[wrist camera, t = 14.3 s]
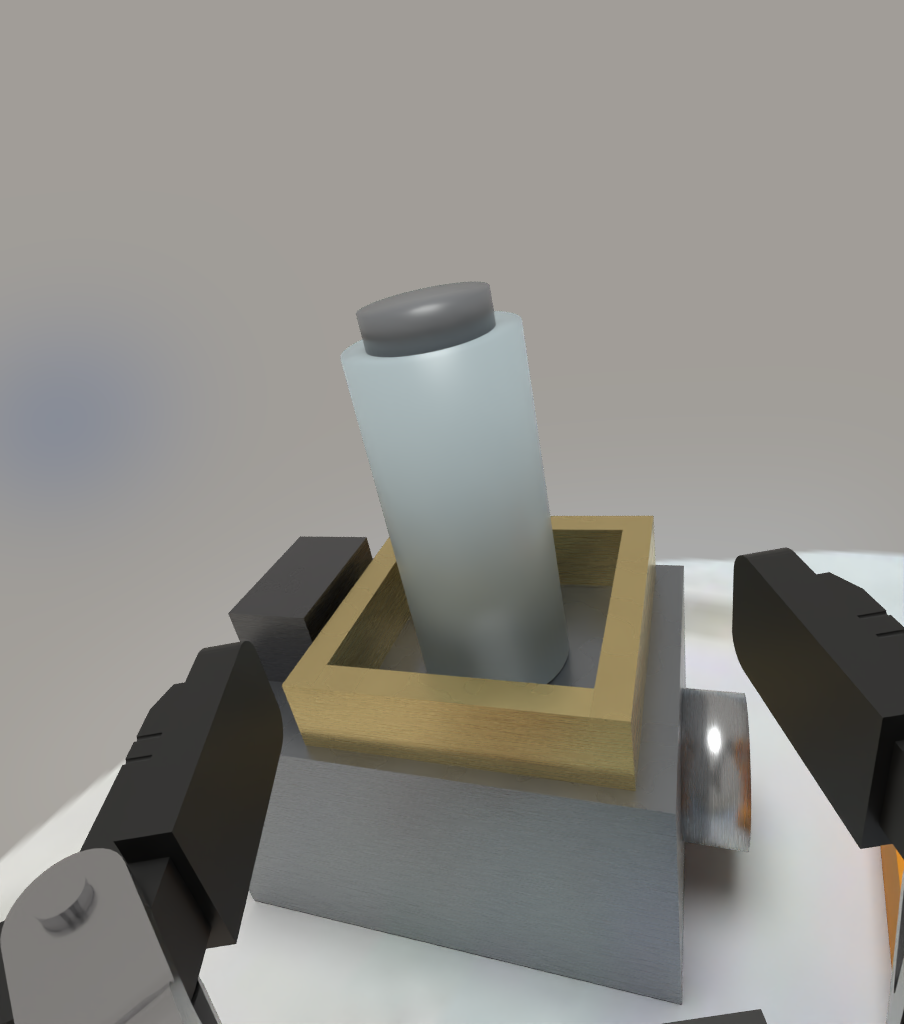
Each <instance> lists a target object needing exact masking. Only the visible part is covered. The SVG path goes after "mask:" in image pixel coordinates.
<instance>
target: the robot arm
mask: <svg viewBox="0 0 904 1024" xmlns="http://www.w3.org/2000/svg"><path fill="white" fill-rule="evenodd" d="M732 635H733V642H734V647H735V651H736V654H737V657H738V660H739V662H740V664H741V666H742V668H743V670H744V672H745V673H746V675H747V676H748V678H749V679H750V681H751V683H752V684H753V686H754V687H755V689H756V690H757V692H758V693H759V695H760V696H761V698H762V699H763V701H764V702H765V704H766V705H767V707H768V709H769V710H770V712H771V713H772V715H773V716H774V718H775V719H776V721H777V722H778V724H779V725H780V727H781V728H782V730H783V731H784V733H785V734H786V736H787V738H788V739H789V741H790V742H791V744H792V745H793V747H794V748H795V750H796V751H797V753H798V754H799V756H800V757H801V759H802V760H803V762H804V764H805V765H806V767H807V768H808V770H809V771H810V773H811V774H812V776H813V777H814V779H815V780H816V782H817V783H818V785H819V786H820V788H821V790H822V791H823V793H824V794H825V796H826V797H827V799H828V800H829V802H830V803H831V805H832V806H833V808H834V809H835V811H836V812H837V814H838V816H839V817H840V819H841V820H842V822H843V823H844V825H845V826H846V828H847V829H848V831H849V832H850V834H851V835H852V837H853V838H854V840H855V842H856V843H857V845H858V846H859V848H860V849H863V848H869V847H876V846H882V845H888V844H893V845H894V847H895V848H896V850H897V851H898V852H899V854H900V855H901V857H902V858H903V859H904V627H903V626H902V625H901V624H900V623H899V622H898V621H897V620H896V619H895V618H894V617H892V616H891V615H887V613H886V610H885V609H884V608H883V607H882V606H881V605H880V604H879V603H878V602H876V601H875V600H874V599H873V598H872V597H871V596H870V595H869V594H868V593H867V592H866V591H865V590H864V589H862V588H860V587H858V586H856V585H854V584H852V583H850V582H848V581H846V580H844V579H842V578H840V577H838V576H836V575H834V574H832V573H830V572H828V573H822V574H817V575H816V574H815V573H814V572H813V571H812V570H811V569H810V568H809V567H808V566H807V565H806V564H805V563H804V562H803V561H802V560H801V559H800V558H799V557H798V556H797V555H796V553H795V552H793V551H792V550H791V549H789V548H780V549H775V550H769V551H763V552H758V553H752V554H747V555H740V556H738V557H737V558H736V560H735V564H734V580H733V620H732ZM282 744H283V722H282V716H281V712H280V708H279V705H278V703H277V700H276V698H275V696H274V693H273V691H272V688H271V686H270V683H269V681H268V678H267V676H266V673H265V671H264V668H263V666H262V663H261V661H260V658H259V656H258V653H257V651H256V649H255V647H254V645H253V644H252V643H251V642H250V641H242V642H237V643H231V644H225V645H219V646H214V647H208V648H204V649H202V650H201V651H200V652H199V653H198V655H197V657H196V659H195V662H194V664H193V666H192V668H191V671H190V673H189V675H188V677H187V679H186V682H185V683H179V684H174V685H173V686H172V687H171V688H170V689H169V690H168V691H167V692H166V693H165V694H164V695H163V696H162V697H161V698H160V700H159V701H158V702H157V703H156V704H155V705H154V706H153V707H152V708H151V709H150V711H149V713H148V715H147V717H146V719H145V721H144V723H143V725H142V727H141V729H140V731H139V733H138V735H137V742H134V743H133V745H132V747H131V749H130V751H129V753H128V755H127V757H126V765H122V767H121V769H120V771H119V773H118V775H117V777H116V779H115V781H114V783H113V785H112V787H111V789H110V791H109V793H108V795H107V798H106V800H105V802H104V804H103V806H102V808H101V810H100V812H99V814H98V816H97V818H96V820H95V822H94V824H93V826H92V828H91V830H90V832H89V834H88V836H87V838H86V840H85V842H84V844H83V846H82V848H81V850H80V852H78V853H75V854H73V855H71V856H69V857H67V858H64V859H63V860H61V861H59V862H58V863H56V864H54V865H53V866H51V867H50V868H49V869H47V870H46V871H44V872H43V873H42V874H41V875H40V876H39V877H37V878H36V879H35V880H34V881H33V882H32V883H31V884H30V885H29V886H28V887H27V888H26V889H25V890H24V892H23V893H22V894H21V895H20V896H19V898H18V899H17V900H16V902H15V903H14V905H13V906H12V908H11V910H10V911H9V913H8V915H7V917H6V919H5V921H3V922H1V923H0V1024H222V1023H221V1021H220V1019H219V1016H218V1014H217V1012H216V1010H215V1008H214V1006H213V1003H212V1001H211V999H210V997H209V995H208V992H207V990H206V988H205V986H204V984H203V982H202V981H201V979H200V977H199V973H200V969H201V965H202V961H203V958H204V954H205V950H206V949H207V948H213V947H219V946H226V945H232V944H236V942H237V938H238V934H239V930H240V925H241V921H242V917H243V912H244V908H245V904H246V899H247V895H248V891H249V887H250V882H251V878H252V874H253V869H254V865H255V861H256V857H257V852H258V848H259V844H260V839H261V835H262V831H263V827H264V822H265V818H266V814H267V809H268V805H269V801H270V797H271V792H272V788H273V784H274V779H275V775H276V771H277V767H278V762H279V758H280V754H281V749H282ZM664 1024H767V1023H766V1020H765V1018H764V1015H763V1013H762V1011H761V1009H758V1010H752V1011H745V1012H738V1013H731V1014H725V1015H718V1016H711V1017H704V1018H698V1019H691V1020H684V1021H677V1022H671V1023H664ZM886 1024H904V871H903V875H902V884H901V893H900V902H899V912H898V921H897V930H896V940H895V949H894V958H893V968H892V977H891V986H890V996H889V1005H888V1012H887V1020H886Z"/></svg>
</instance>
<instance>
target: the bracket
mask: <svg viewBox="0 0 904 1024" xmlns="http://www.w3.org/2000/svg"><path fill="white" fill-rule="evenodd" d="M880 847H881V858H882V868H883V879H884V890H885V900H886V911H887V922H888V933H889V943H890V954H891V965H892V968H893V958H894V949H895V940H896V930H897V921H898V912H899V902H900V893H901V884H902V875H903V871H904V859H903V858H902V857H901V855H900V854H899V852H898V851H897V850H896V848H895V847H894V845H893V844H888V845H882V846H880Z"/></svg>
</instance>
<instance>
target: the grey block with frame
mask: <svg viewBox="0 0 904 1024" xmlns="http://www.w3.org/2000/svg"><path fill="white" fill-rule="evenodd" d="M550 517H551V524H552V531H553V538H554V545H555V552H556V558H557V565H558V572H559V579H560V586H561V593H562V600H563V607H564V614H565V621H566V627H567V634H568V641H569V652H568V657H567V660H566V662H565V664H564V666H563V668H562V669H561V670H560V672H559V673H558V674H557V675H556V676H555V677H554V678H553V679H552V680H551V681H550V682H549V683H548V684H537V683H526V682H515V681H503V680H492V679H481V678H470V677H459V676H447V675H436V674H428V673H427V670H426V667H425V663H424V660H423V656H422V652H421V649H420V645H419V641H418V638H417V634H416V631H415V627H414V623H413V620H412V616H411V612H410V609H409V605H408V602H407V598H406V594H405V591H404V587H403V584H402V580H401V576H400V573H399V569H398V565H397V562H396V558H395V555H394V551H393V547H392V544H391V540H390V537H389V538H388V540H387V541H386V542H385V544H384V545H383V546H382V548H381V549H380V551H379V552H378V553H377V555H376V556H375V558H374V559H373V558H372V556H371V552H370V548H369V545H368V541H367V538H366V537H299V538H298V540H297V541H296V542H295V543H294V544H293V545H292V546H291V547H290V548H289V549H288V550H287V551H286V552H285V553H284V555H283V556H282V557H281V558H280V559H279V560H278V561H277V562H276V563H275V564H274V565H273V566H272V567H271V568H270V569H269V571H268V572H267V573H266V574H265V575H264V576H263V577H262V578H261V579H260V580H259V581H258V582H257V583H256V584H255V585H254V587H253V588H252V589H251V590H250V591H249V592H248V593H247V594H246V595H245V596H244V597H243V598H242V599H241V600H240V601H239V603H238V604H237V605H236V606H235V607H234V608H233V609H232V610H231V611H230V612H229V616H230V618H231V621H232V623H233V626H234V628H235V630H236V633H237V635H238V638H239V640H240V642H242V641H250V642H251V643H252V644H253V645H254V647H255V649H256V651H257V653H258V656H259V658H260V661H261V663H262V666H263V668H264V671H265V673H266V676H267V678H268V681H269V683H270V686H271V688H272V691H273V693H274V696H275V698H276V700H277V703H278V705H279V708H280V712H281V716H282V722H283V744H282V749H281V754H280V758H279V762H278V767H277V771H276V775H275V779H274V784H273V788H272V792H271V797H270V801H269V805H268V809H267V814H266V818H265V822H264V827H263V831H262V835H261V839H260V844H259V848H258V852H257V857H256V861H255V865H254V869H253V874H252V878H251V882H250V887H249V891H250V893H251V895H252V897H253V899H254V900H256V901H260V902H264V903H268V904H272V905H276V906H280V907H284V908H288V909H293V910H297V911H301V912H305V913H309V914H313V915H317V916H321V917H325V918H329V919H334V920H338V921H342V922H346V923H350V924H354V925H358V926H362V927H366V928H370V929H374V930H379V931H383V932H387V933H391V934H395V935H399V936H403V937H407V938H411V939H415V940H420V941H424V942H428V943H432V944H436V945H440V946H444V947H448V948H452V949H456V950H461V951H465V952H469V953H473V954H477V955H481V956H485V957H489V958H493V959H497V960H502V961H506V962H510V963H514V964H518V965H522V966H526V967H530V968H534V969H538V970H543V971H547V972H551V973H555V974H559V975H563V976H567V977H571V978H575V979H579V980H584V981H588V982H592V983H596V984H600V985H604V986H608V987H612V988H616V989H620V990H624V991H629V992H633V993H637V994H641V995H645V996H649V997H653V998H657V999H661V1000H665V1001H670V1002H674V1003H678V1004H682V955H683V900H684V846H685V842H689V843H695V844H701V845H707V846H713V847H719V848H726V849H732V850H738V851H744V852H749V847H750V833H751V770H750V743H749V725H748V712H747V703H746V697H745V694H744V693H736V692H724V691H713V690H701V689H689V688H686V674H685V616H684V566H672V565H655V544H654V520H653V519H654V518H653V516H550Z"/></svg>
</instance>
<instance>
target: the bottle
mask: <svg viewBox="0 0 904 1024" xmlns="http://www.w3.org/2000/svg"><path fill="white" fill-rule="evenodd" d="M356 316H357V320H358V324H359V328H360V331H361V335H362V339H363V340H360V341H359V342H357V343H355V344H353V345H352V346H350V347H349V348H347V349H346V350H344V352H343V353H342V354H341V357H340V359H341V363H342V366H343V370H344V373H345V377H346V381H347V384H348V388H349V392H350V395H351V399H352V402H353V406H354V410H355V413H356V417H357V421H358V424H359V428H360V431H361V435H362V439H363V442H364V446H365V450H366V453H367V457H368V460H369V464H370V468H371V471H372V475H373V478H374V482H375V486H376V489H377V493H378V497H379V500H380V504H381V507H382V511H383V515H384V518H385V522H386V525H387V529H388V533H389V536H390V540H391V544H392V547H393V551H394V555H395V558H396V562H397V565H398V569H399V573H400V576H401V580H402V584H403V587H404V591H405V594H406V598H407V602H408V605H409V609H410V612H411V616H412V620H413V623H414V627H415V631H416V634H417V638H418V641H419V645H420V649H421V652H422V656H423V660H424V663H425V667H426V670H427V673H428V674H436V675H447V676H459V677H470V678H481V679H492V680H503V681H515V682H526V683H537V684H548V683H549V682H550V681H551V680H552V679H553V678H554V677H555V676H556V675H557V674H558V673H559V672H560V670H561V669H562V668H563V666H564V664H565V662H566V660H567V657H568V652H569V641H568V634H567V627H566V621H565V614H564V607H563V600H562V593H561V586H560V579H559V572H558V565H557V558H556V552H555V545H554V538H553V531H552V524H551V517H550V511H549V504H548V497H547V489H546V483H545V476H544V469H543V462H542V456H541V448H540V442H539V435H538V428H537V420H536V414H535V407H534V400H533V393H532V386H531V379H530V373H529V365H528V359H527V351H526V345H525V338H524V331H523V324H522V319H521V317H520V316H519V315H517V314H514V313H510V312H503V311H494V309H493V303H492V297H491V291H490V285H489V284H488V283H485V282H461V283H452V284H445V285H439V286H433V287H428V288H423V289H418V290H414V291H410V292H406V293H402V294H399V295H395V296H392V297H388V298H385V299H382V300H379V301H376V302H374V303H371V304H369V305H367V306H365V307H363V308H361V309H360V310H359V311H357V313H356Z"/></svg>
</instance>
